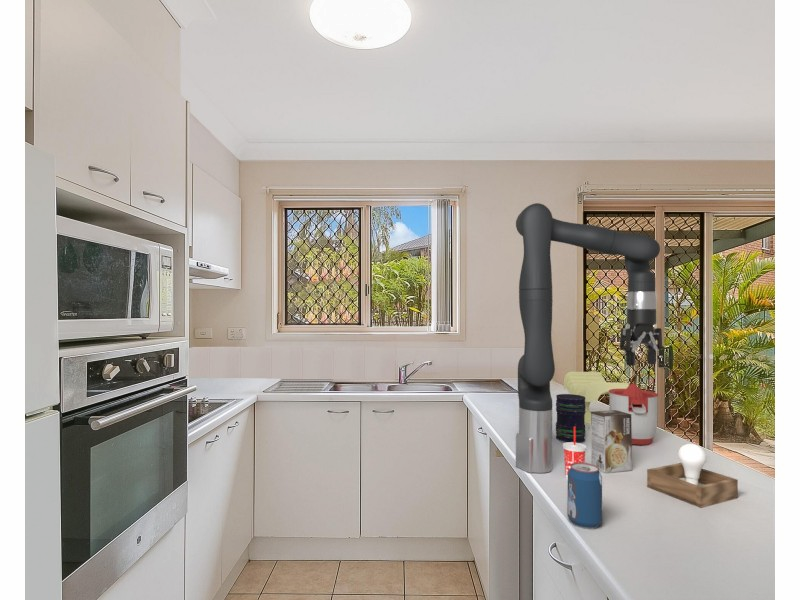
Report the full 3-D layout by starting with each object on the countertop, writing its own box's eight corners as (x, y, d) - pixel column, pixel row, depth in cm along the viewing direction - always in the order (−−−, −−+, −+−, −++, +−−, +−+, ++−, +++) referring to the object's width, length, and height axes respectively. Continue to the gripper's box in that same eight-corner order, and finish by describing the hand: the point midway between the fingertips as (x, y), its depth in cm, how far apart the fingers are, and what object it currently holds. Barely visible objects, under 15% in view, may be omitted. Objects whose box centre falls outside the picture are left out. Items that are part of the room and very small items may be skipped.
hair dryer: (563, 411, 213) (563, 371, 214) (600, 412, 212) (600, 372, 213) (585, 428, 183) (585, 381, 184) (628, 429, 182) (628, 382, 183)
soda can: (606, 522, 103) (607, 466, 103) (595, 533, 98) (595, 474, 98) (575, 513, 108) (575, 459, 108) (562, 523, 102) (562, 466, 103)
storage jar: (581, 436, 173) (581, 394, 173) (589, 443, 163) (589, 399, 163) (552, 435, 174) (553, 393, 174) (559, 442, 164) (559, 398, 164)
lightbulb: (680, 481, 125) (680, 439, 125) (708, 487, 121) (708, 443, 121) (676, 488, 120) (676, 444, 121) (704, 494, 117) (704, 449, 117)
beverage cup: (588, 477, 130) (588, 425, 131) (584, 484, 125) (584, 430, 125) (565, 473, 134) (565, 422, 134) (560, 480, 128) (560, 427, 128)
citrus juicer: (614, 447, 159) (614, 386, 160) (604, 433, 176) (605, 379, 176) (665, 450, 156) (666, 389, 156) (651, 436, 172) (651, 381, 173)
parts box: (700, 507, 111) (700, 488, 111) (647, 486, 124) (647, 469, 124) (737, 498, 117) (737, 479, 117) (682, 479, 130) (682, 462, 130)
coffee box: (616, 463, 142) (616, 409, 142) (632, 471, 136) (632, 414, 136) (590, 466, 140) (590, 411, 140) (605, 473, 134) (605, 415, 134)
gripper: (647, 307, 143) (646, 362, 143) (612, 307, 137) (612, 364, 137) (670, 308, 136) (670, 365, 136) (635, 307, 130) (635, 367, 130)
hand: (641, 364), depth 136 cm, fingers open, 8 cm apart
